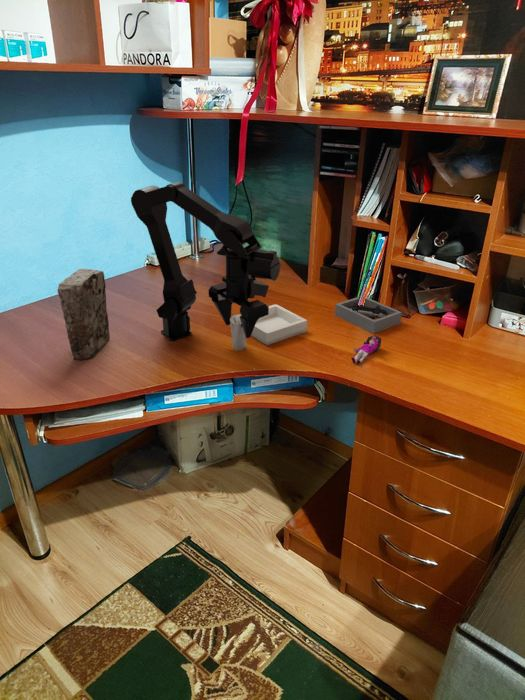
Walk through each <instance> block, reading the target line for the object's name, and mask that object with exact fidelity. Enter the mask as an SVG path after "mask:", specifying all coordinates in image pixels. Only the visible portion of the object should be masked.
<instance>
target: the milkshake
mask: <svg viewBox="0 0 525 700" xmlns="http://www.w3.org/2000/svg"><path fill="white" fill-rule="evenodd" d="M240 316H241V313H239V314H234V315H231V318H230V325H229V326H230V331H231V332H230V333H231V341H232V342H231V343H232V348H233V350H235V351H243V350H245V349H246V346H247V345H246V344H247V338H246V336H245V333H244V330H243V326H242V323H241V320H240Z"/></svg>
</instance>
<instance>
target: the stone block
mask: <svg viewBox="0 0 525 700" xmlns="http://www.w3.org/2000/svg"><path fill="white" fill-rule="evenodd" d="M106 286H107V285H106V280H105V273H104V271H103V270H97V269H91V268H79V269H77V270H75V272H73V273H71V274H70V276H68V277H66V278H64V280H63V281H61V282H60V283H58V287H57V294H58V296H59V299H60V306H61V309H62V313H63V319H64V322H65V324H64V325H65V329H66V333H67V339H68V342H69V346H70V347H69V348H70V351H71V354H72V357H73V360H76V361H83V360H87V359H91V358H94V357H95V356H96V355H97V354H98V352H99V351H100V350H101V349H102V348H104V345H106V344H107V342H108V341H109V340H110V337H111V335H110V328H109V325H110V323H109V315H108V310H107V295H106Z"/></svg>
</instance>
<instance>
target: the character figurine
mask: <svg viewBox="0 0 525 700" xmlns="http://www.w3.org/2000/svg"><path fill="white" fill-rule="evenodd" d="M382 340H383V339H382V337H381V336H378V335H376V334H374V335H371V336H368V337H367V339H366V341H363V345H361V346H360V347H359V348H358V347H355V348H353V352H356V353H357V354H356V355H355V356H354V357H353V356H352V357H351V359H350V360H351V362H352V363H353V364H355V363H356V365H357V366H359V365H361V364H362V362H364V361H365V359H366V358H367V357H368V355H369V354H374V353H376V352H377V351H378V350H379V349H380V348H381V345H382Z"/></svg>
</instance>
